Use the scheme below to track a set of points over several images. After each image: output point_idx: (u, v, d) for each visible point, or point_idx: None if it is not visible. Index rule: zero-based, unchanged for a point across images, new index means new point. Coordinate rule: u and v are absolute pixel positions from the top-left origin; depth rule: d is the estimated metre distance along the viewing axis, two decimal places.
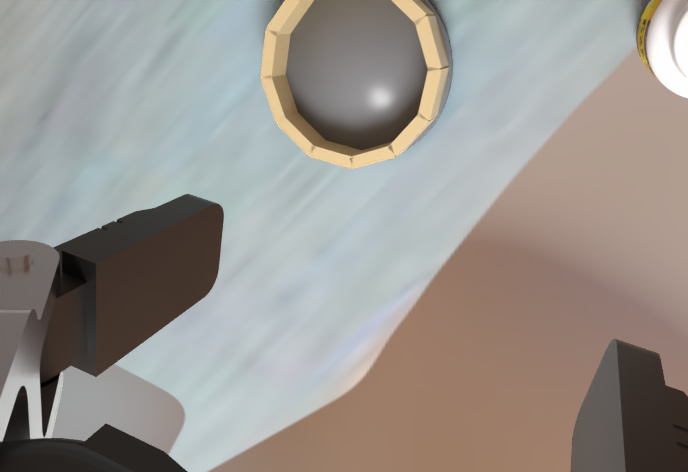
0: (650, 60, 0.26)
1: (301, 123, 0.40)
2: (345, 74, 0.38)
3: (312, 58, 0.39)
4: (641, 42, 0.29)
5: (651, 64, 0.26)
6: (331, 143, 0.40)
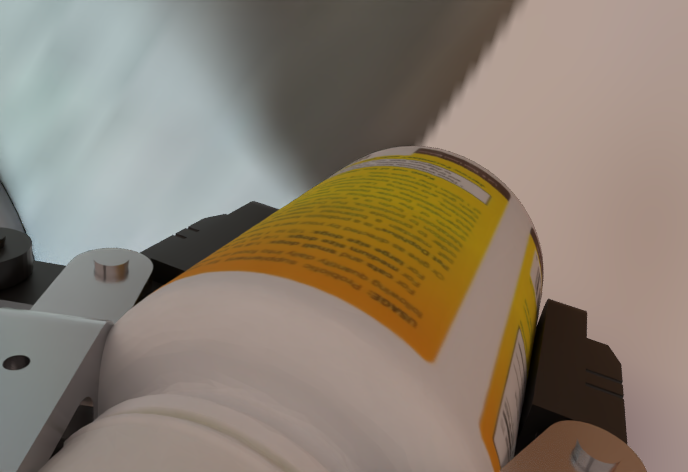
0: None
1: None
2: None
3: None
4: None
5: None
6: None
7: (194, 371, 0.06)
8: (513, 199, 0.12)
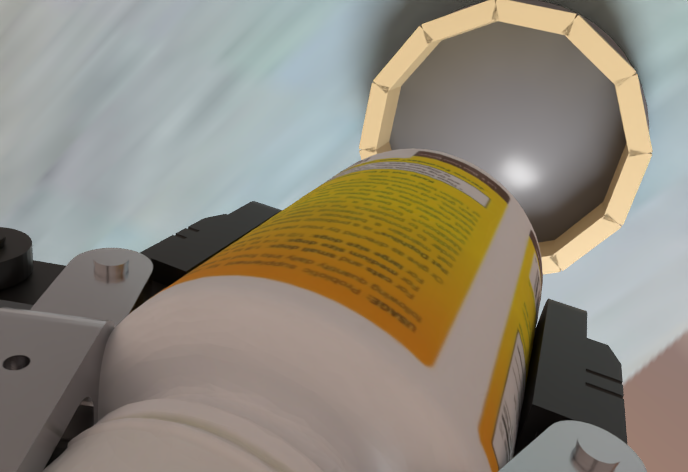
0: None
1: None
2: (481, 146, 0.27)
3: (432, 121, 0.27)
4: None
5: None
6: None
7: (194, 375, 0.06)
8: (512, 202, 0.12)
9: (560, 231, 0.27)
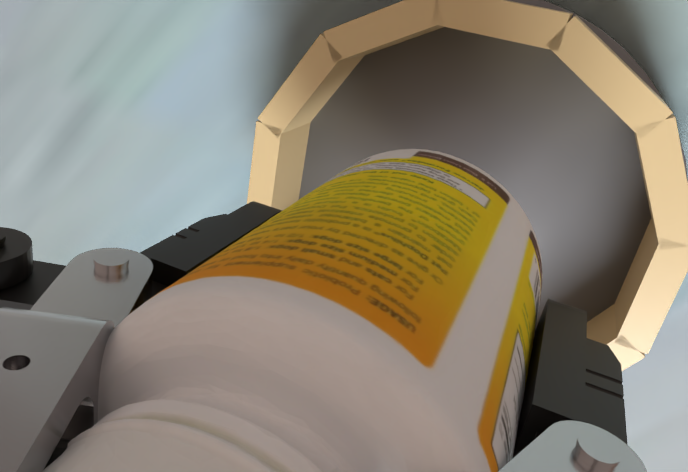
0: None
1: None
2: None
3: None
4: None
5: None
6: None
7: (193, 376, 0.06)
8: (512, 202, 0.12)
9: None
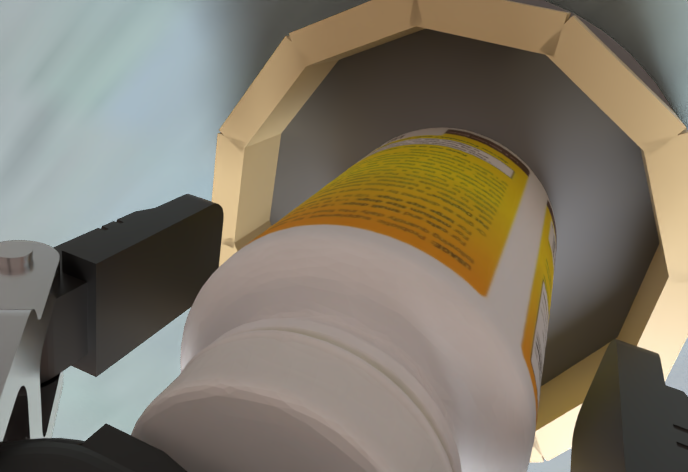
0: None
1: None
2: None
3: None
4: None
5: None
6: None
7: (294, 303, 0.08)
8: (532, 175, 0.13)
9: (545, 377, 0.16)
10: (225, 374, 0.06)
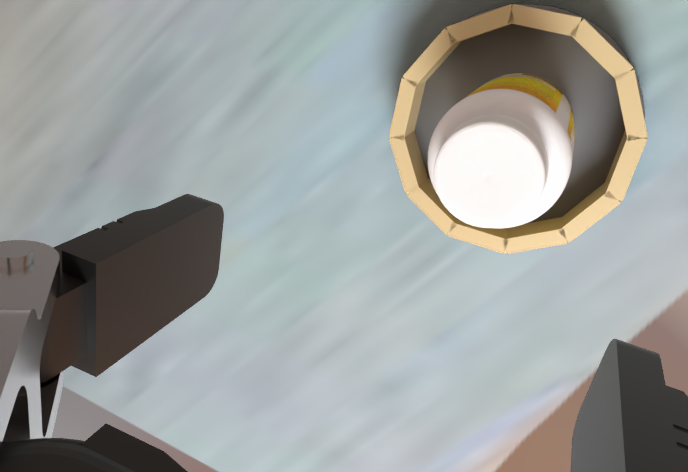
0: (431, 180, 0.24)
1: (434, 192, 0.32)
2: None
3: None
4: None
5: None
6: None
7: (488, 113, 0.22)
8: (563, 95, 0.28)
9: (567, 209, 0.30)
10: (479, 120, 0.21)
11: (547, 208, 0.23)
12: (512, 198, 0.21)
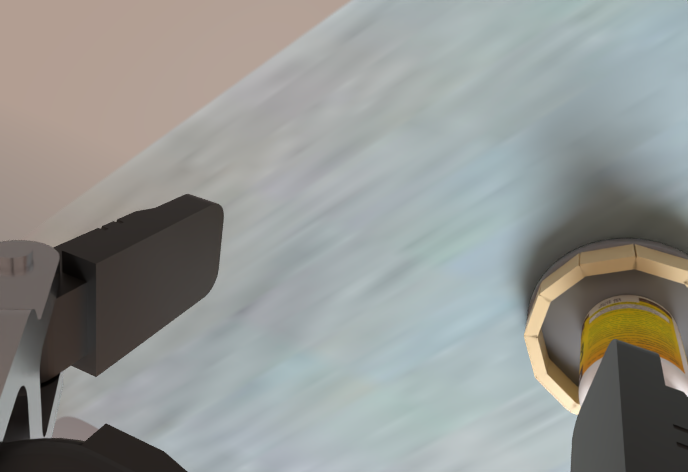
0: None
1: (556, 373, 0.39)
2: None
3: (574, 313, 0.38)
4: None
5: None
6: None
7: None
8: (672, 318, 0.35)
9: None
10: None
11: None
12: None
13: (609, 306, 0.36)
